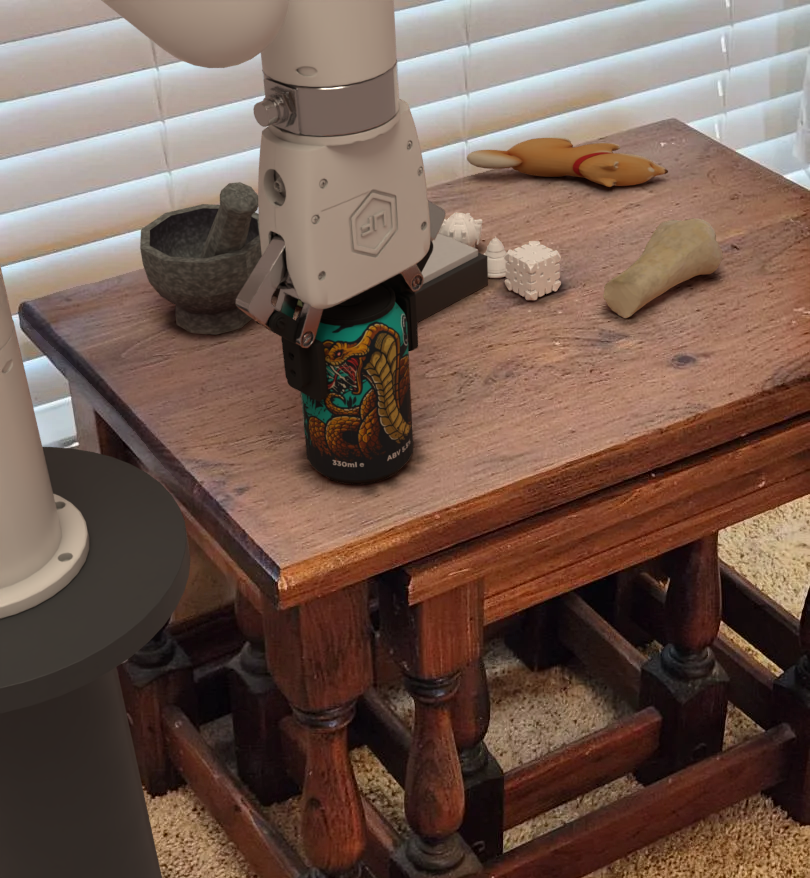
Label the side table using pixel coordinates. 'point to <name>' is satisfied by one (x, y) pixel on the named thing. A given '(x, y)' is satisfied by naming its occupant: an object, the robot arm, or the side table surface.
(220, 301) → the mortar and pestle
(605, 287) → the tan bone
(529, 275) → the game pieces
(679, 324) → the side table surface
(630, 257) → the side table surface
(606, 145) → the toy
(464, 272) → the scale
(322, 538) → the side table surface
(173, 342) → the side table surface
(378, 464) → the beverage can
